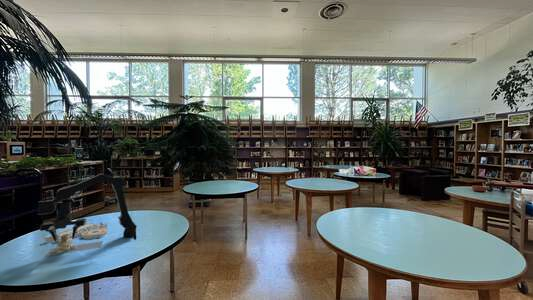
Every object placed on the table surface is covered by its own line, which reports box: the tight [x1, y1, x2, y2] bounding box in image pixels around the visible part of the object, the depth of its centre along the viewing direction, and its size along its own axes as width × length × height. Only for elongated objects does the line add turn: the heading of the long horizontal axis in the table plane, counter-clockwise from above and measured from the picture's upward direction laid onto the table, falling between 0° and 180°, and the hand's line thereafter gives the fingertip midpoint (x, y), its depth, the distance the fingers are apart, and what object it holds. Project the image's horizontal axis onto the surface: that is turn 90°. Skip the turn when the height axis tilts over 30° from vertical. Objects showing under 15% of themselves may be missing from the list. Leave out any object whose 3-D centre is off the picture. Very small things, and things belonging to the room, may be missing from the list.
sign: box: [44, 221, 108, 244], centre depth 157 cm, size 30×4×30 cm
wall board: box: [44, 240, 104, 257], centre depth 134 cm, size 24×10×4 cm, turn 117°
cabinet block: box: [56, 234, 73, 253], centre depth 132 cm, size 5×6×8 cm
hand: (64, 239), depth 132 cm, fingers open, 7 cm apart
